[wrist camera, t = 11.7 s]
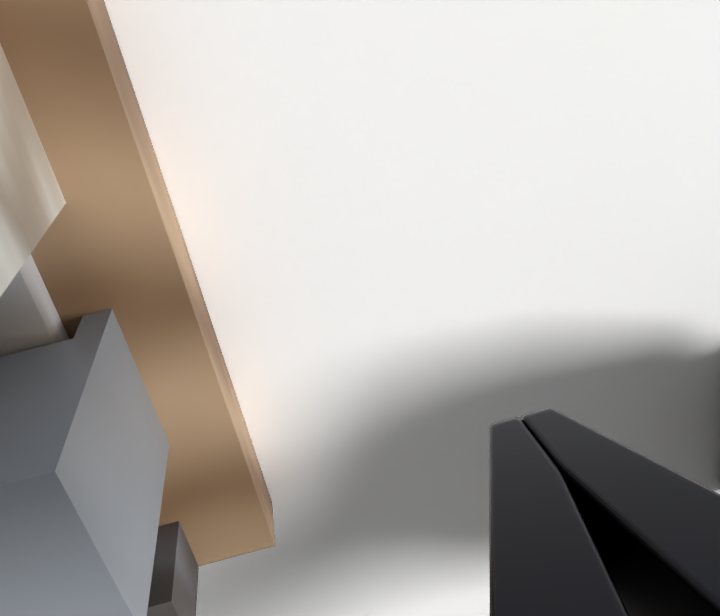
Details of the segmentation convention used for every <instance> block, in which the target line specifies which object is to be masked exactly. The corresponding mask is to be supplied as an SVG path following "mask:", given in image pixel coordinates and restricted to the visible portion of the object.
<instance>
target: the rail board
mask: <svg viewBox="0 0 720 616" xmlns="http://www.w3.org/2000/svg"><path fill="white" fill-rule="evenodd" d="M108 309H113V312H114V314H115V316H116V319H117V321H118V324H119V326H120V328H121V331H122V333H123V335H124V338H125V340H126V342H127V345H128V347H129V350H130V352H131V354H132V357H133V359H134V361H135V364H136V366H137V368H138V371H139V373H140V376H141V378H142V380H143V383H144V385H145V387H146V390H147V392H148V394H149V397H150V399H151V401H152V404H153V406H154V409H155V411H156V413H157V416H158V418H159V420H160V423H161V425H162V427H163V430H164V432H165V435H166V437H167V439H168V442H169V451H168V458H167V466H166V473H165V481H164V488H163V496H162V504H161V511H160V519H159V526H158V534H157V541H156V549H155V556H154V564H153V572H152V579H151V587H150V594H149V602H148V609H147V616H196V601H197V583H198V566H201V565H205V564H209V563H212V562H216V561H220V560H224V559H227V558H231V557H235V556H239V555H242V554H246V553H250V552H254V551H257V550H261V549H265V548H269V547H272V546H275V538H274V524H273V510H272V501H271V498H270V495H269V492H268V489H267V486H266V483H265V480H264V477H263V474H262V471H261V468H260V465H259V463H258V460H257V457H256V454H255V451H254V448H253V445H252V442H251V439H250V436H249V433H248V430H247V427H246V424H245V421H244V418H243V415H242V412H241V409H240V406H239V403H238V400H237V397H236V394H235V391H234V388H233V385H232V382H231V379H230V376H229V373H228V370H227V367H226V364H225V361H224V358H223V355H222V352H221V349H220V346H219V343H218V340H217V337H216V334H215V331H214V328H213V325H212V322H211V319H210V316H209V313H208V310H207V307H206V304H205V301H204V298H203V295H202V292H201V289H200V286H199V283H198V280H197V277H196V274H195V272H194V269H193V266H192V263H191V260H190V257H189V254H188V251H187V248H186V245H185V242H184V239H183V236H182V233H181V230H180V227H179V224H178V221H177V218H176V215H175V212H174V209H173V206H172V203H171V200H170V197H169V194H168V191H167V188H166V185H165V182H164V179H163V176H162V173H161V170H160V167H159V164H158V161H157V158H156V155H155V152H154V149H153V146H152V143H151V140H150V137H149V134H148V131H147V128H146V125H145V122H144V119H143V116H142V113H141V110H140V107H139V104H138V101H137V98H136V95H135V92H134V89H133V86H132V84H131V81H130V78H129V75H128V72H127V69H126V66H125V63H124V60H123V57H122V54H121V51H120V48H119V45H118V42H117V39H116V36H115V33H114V30H113V27H112V24H111V21H110V18H109V15H108V12H107V9H106V6H105V3H104V0H0V357H2V356H6V355H10V354H14V353H18V352H22V351H26V350H29V349H33V348H37V347H41V346H45V345H49V344H53V343H57V342H61V341H65V340H69V339H73V338H74V336H75V334H76V331H77V329H78V326H79V324H80V322H81V319H82V317H83V316H84V315H88V314H92V313H96V312H100V311H104V310H108Z"/></svg>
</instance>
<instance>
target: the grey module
mask: <svg viewBox="0 0 720 616" xmlns="http://www.w3.org/2000/svg"><path fill="white" fill-rule="evenodd" d="M168 451H169V442H168V439H167V437H166V435H165V432H164V430H163V427H162V425H161V423H160V420H159V418H158V416H157V413H156V411H155V409H154V406H153V404H152V401H151V399H150V397H149V394H148V392H147V390H146V387H145V385H144V383H143V380H142V378H141V376H140V373H139V371H138V368H137V366H136V364H135V361H134V359H133V357H132V354H131V352H130V350H129V347H128V345H127V342H126V340H125V338H124V335H123V333H122V331H121V328H120V326H119V324H118V321H117V319H116V316H115V314H114V312H113V309H108V310H104V311H100V312H96V313H92V314H88V315H84V316H83V317H82V319H81V322H80V324H79V326H78V329H77V331H76V334H75V336H74V338H73V339H69V340H65V341H61V342H57V343H53V344H49V345H45V346H41V347H37V348H33V349H29V350H26V351H22V352H18V353H14V354H10V355H6V356H2V357H0V616H147V609H148V602H149V594H150V587H151V579H152V572H153V564H154V556H155V549H156V541H157V534H158V526H159V519H160V511H161V504H162V496H163V488H164V481H165V473H166V466H167V458H168Z"/></svg>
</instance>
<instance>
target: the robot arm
mask: <svg viewBox="0 0 720 616" xmlns="http://www.w3.org/2000/svg"><path fill="white" fill-rule="evenodd" d="M489 544H490V616H720V494H718V493H716V492H714V491H712V490H710V489H708V488H706V487H704V486H702V485H701V484H699V483H697V482H695V481H693V480H691V479H689V478H687V477H685V476H683V475H681V474H679V473H677V472H675V471H673V470H671V469H669V468H667V467H665V466H663V465H661V464H659V463H657V462H656V461H654V460H652V459H650V458H648V457H646V456H644V455H642V454H640V453H638V452H636V451H634V450H632V449H630V448H628V447H626V446H624V445H622V444H620V443H618V442H616V441H614V440H612V439H611V438H609V437H607V436H605V435H603V434H601V433H599V432H597V431H595V430H593V429H591V428H589V427H587V426H585V425H583V424H581V423H579V422H577V421H575V420H573V419H571V418H569V417H567V416H566V415H564V414H562V413H560V412H558V411H556V410H554V409H550V408H546V409H542V410H538V411H535V412H531V413H528V414H525V415H523V416H522V417H521V419H519V418H516V417H515V418H510V419H507V420H503V421H500V422H496V423H493V424H491V425H490V427H489Z"/></svg>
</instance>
